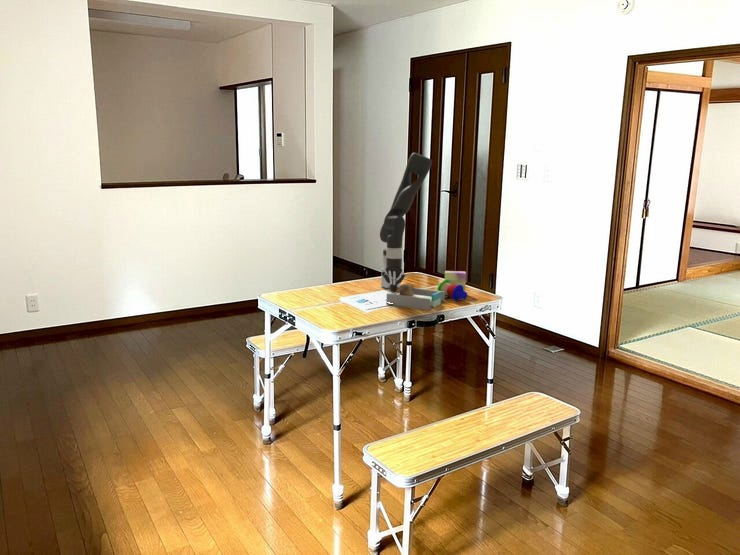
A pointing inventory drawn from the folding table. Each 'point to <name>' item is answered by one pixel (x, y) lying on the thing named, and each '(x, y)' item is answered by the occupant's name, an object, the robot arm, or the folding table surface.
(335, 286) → the folding table surface
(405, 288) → the walnut block
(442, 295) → the trap track
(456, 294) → the toy figure
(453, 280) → the box
